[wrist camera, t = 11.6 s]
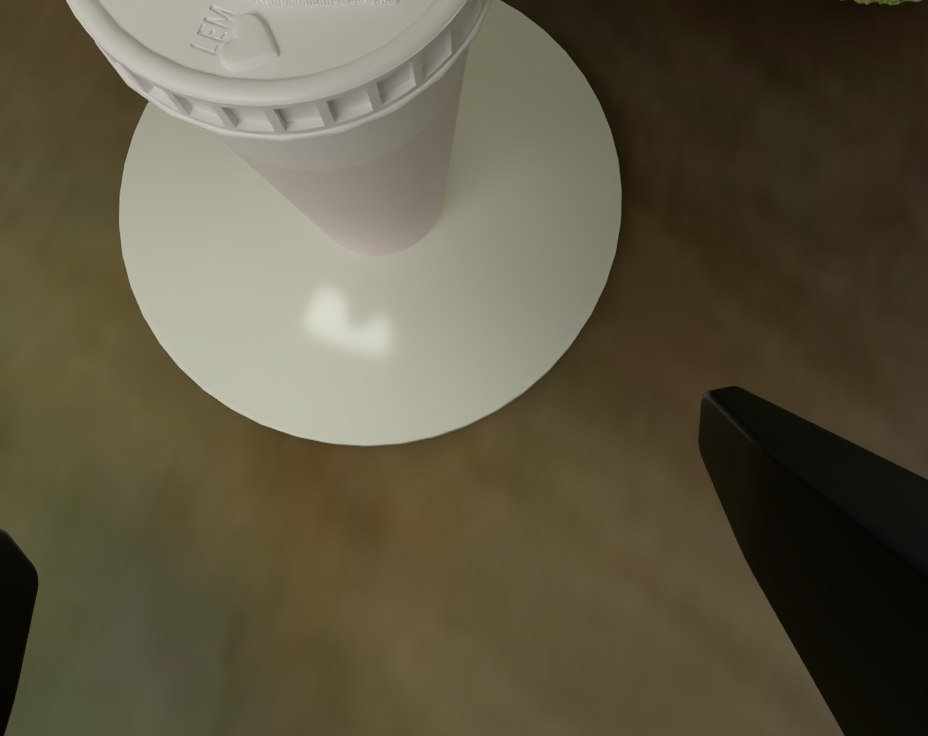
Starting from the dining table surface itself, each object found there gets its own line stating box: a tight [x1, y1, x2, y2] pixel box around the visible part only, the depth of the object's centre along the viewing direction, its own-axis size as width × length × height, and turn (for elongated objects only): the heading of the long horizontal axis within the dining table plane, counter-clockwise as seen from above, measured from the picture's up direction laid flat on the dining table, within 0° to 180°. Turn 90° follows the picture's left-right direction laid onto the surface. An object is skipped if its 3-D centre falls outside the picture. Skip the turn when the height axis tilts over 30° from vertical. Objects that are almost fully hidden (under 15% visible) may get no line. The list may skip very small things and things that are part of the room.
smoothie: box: [66, 0, 492, 256], centre depth 12 cm, size 6×6×14 cm
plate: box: [119, 0, 622, 447], centre depth 19 cm, size 14×14×1 cm
